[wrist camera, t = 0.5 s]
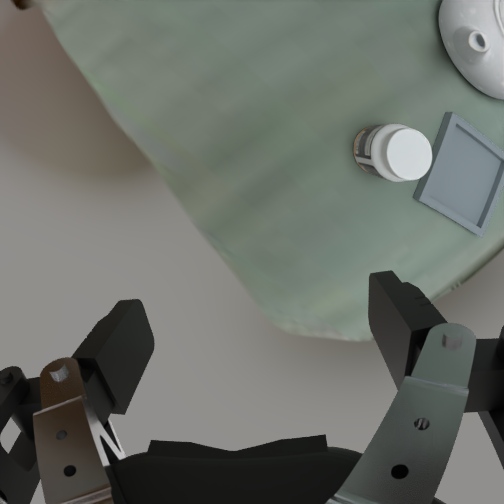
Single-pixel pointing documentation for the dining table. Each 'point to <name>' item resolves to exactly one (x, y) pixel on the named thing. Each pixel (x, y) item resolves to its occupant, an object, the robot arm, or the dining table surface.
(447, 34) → the teapot
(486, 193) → the dish
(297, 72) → the dining table surface
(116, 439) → the robot arm
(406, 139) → the pill bottle
